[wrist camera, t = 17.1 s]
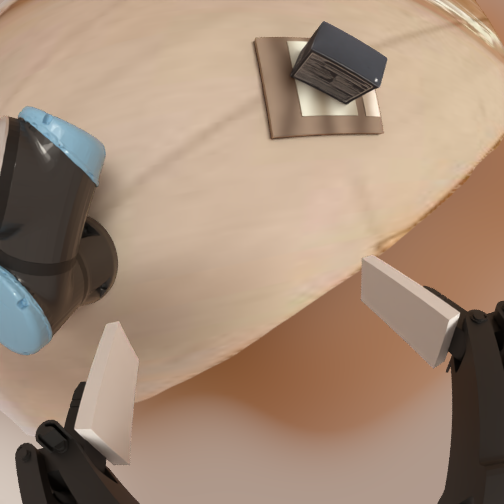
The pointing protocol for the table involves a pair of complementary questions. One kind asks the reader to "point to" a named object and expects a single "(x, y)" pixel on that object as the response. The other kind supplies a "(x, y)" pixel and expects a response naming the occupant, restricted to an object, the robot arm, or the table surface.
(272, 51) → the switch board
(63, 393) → the table surface
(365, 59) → the small box
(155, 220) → the table surface
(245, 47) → the table surface
